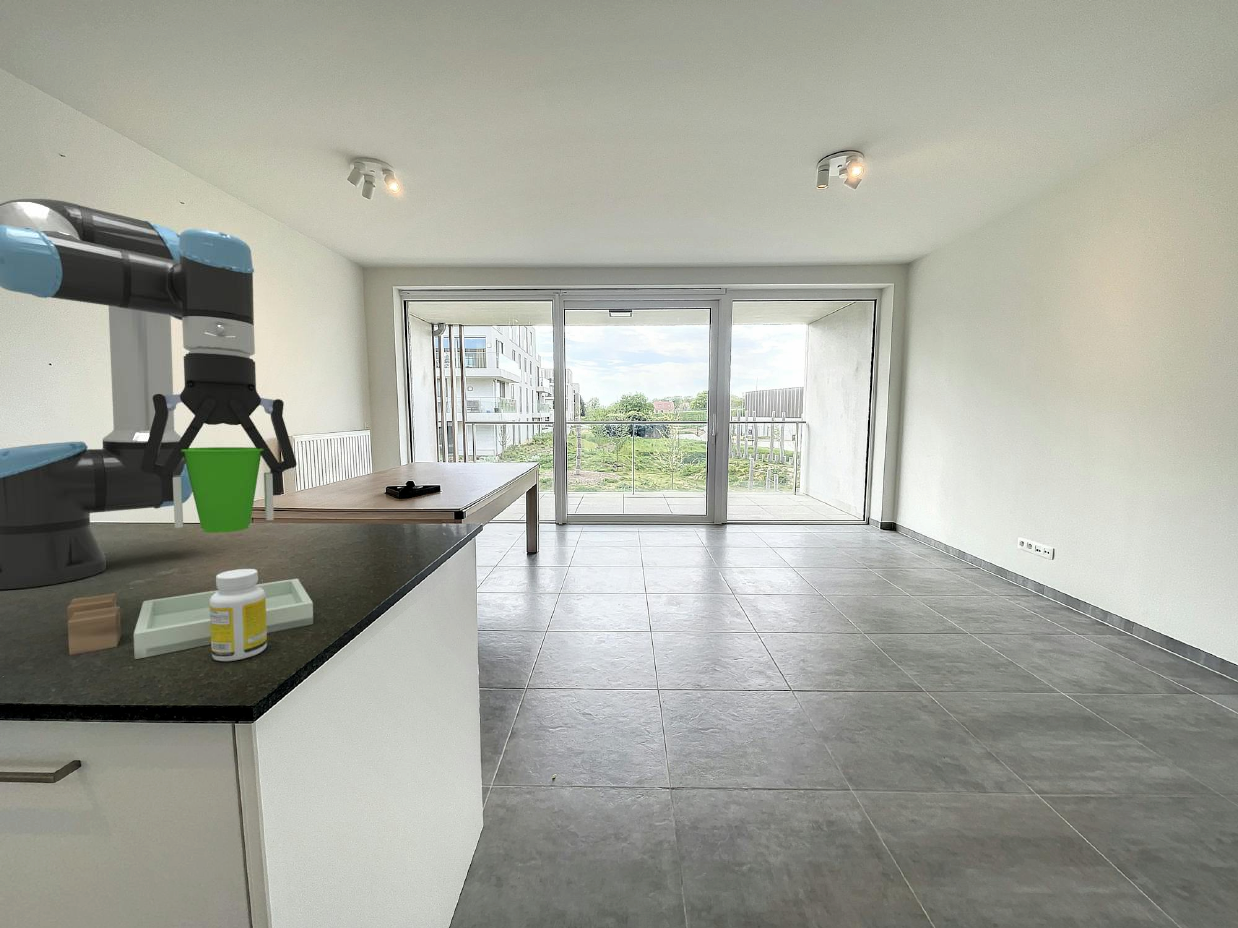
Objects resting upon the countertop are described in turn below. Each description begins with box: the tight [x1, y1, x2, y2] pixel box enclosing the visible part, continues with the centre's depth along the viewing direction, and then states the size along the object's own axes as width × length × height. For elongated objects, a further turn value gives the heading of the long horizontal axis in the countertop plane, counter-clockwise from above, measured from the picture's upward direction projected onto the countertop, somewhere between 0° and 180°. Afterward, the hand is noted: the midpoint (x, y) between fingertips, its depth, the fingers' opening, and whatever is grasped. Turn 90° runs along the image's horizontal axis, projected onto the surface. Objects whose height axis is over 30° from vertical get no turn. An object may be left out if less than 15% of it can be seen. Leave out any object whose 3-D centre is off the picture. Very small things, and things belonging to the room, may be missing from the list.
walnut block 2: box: [67, 605, 122, 656], centre depth 62 cm, size 4×4×4 cm
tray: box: [133, 578, 314, 660], centre depth 70 cm, size 14×18×3 cm
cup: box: [181, 446, 263, 534], centre depth 69 cm, size 9×9×11 cm
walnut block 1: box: [66, 592, 117, 623], centre depth 67 cm, size 4×4×4 cm
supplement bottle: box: [210, 568, 268, 662], centre depth 61 cm, size 5×5×10 cm
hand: (226, 522), depth 69 cm, fingers closed on cup, 9 cm apart
